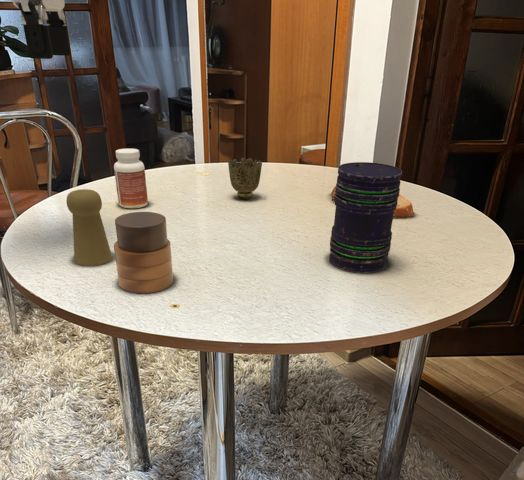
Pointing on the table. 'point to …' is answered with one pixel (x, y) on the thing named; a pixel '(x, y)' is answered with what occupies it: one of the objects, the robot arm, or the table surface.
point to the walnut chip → (141, 231)
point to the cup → (245, 176)
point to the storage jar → (364, 216)
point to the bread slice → (402, 208)
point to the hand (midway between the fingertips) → (51, 56)
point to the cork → (88, 228)
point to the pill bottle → (130, 179)
